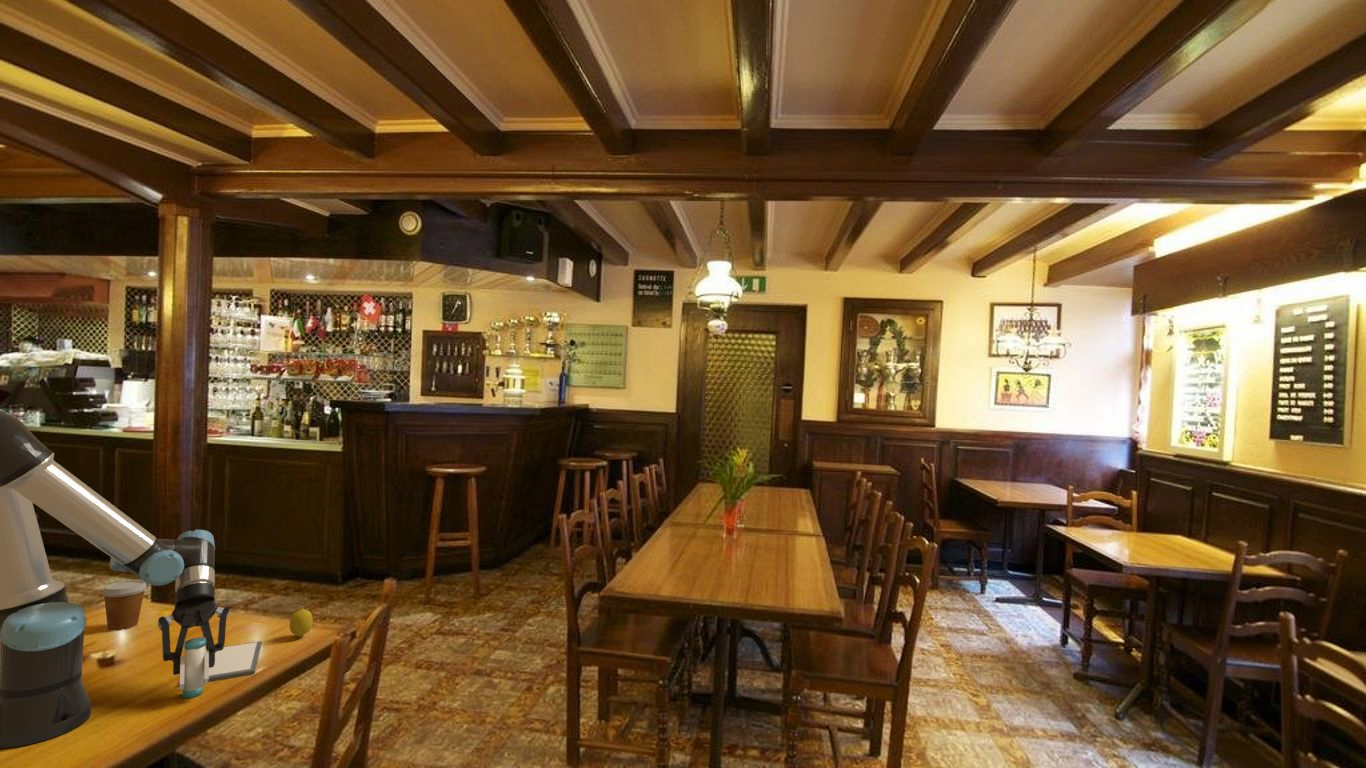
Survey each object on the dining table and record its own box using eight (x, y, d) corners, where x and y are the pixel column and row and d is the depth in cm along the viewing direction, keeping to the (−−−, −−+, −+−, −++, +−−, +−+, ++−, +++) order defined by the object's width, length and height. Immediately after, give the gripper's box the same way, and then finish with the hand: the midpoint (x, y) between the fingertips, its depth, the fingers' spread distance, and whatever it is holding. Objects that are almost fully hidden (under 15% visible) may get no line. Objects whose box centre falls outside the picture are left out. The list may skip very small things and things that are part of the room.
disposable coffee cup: (150, 625, 175) (152, 583, 175) (105, 635, 167) (108, 592, 167) (138, 618, 180) (140, 577, 180) (94, 627, 172) (97, 585, 172)
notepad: (181, 686, 140) (181, 681, 140) (196, 653, 157) (196, 649, 157) (254, 673, 147) (254, 669, 147) (261, 644, 165) (261, 640, 165)
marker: (179, 699, 134) (183, 645, 134) (183, 692, 137) (186, 639, 138) (201, 696, 136) (204, 642, 136) (204, 688, 139) (207, 636, 140)
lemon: (314, 637, 170) (316, 608, 170) (292, 642, 166) (293, 613, 166) (308, 631, 174) (310, 603, 174) (286, 636, 170) (287, 608, 170)
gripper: (235, 591, 154) (238, 681, 141) (149, 604, 143) (143, 702, 130) (239, 575, 150) (242, 666, 137) (150, 587, 139) (144, 687, 126)
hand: (194, 684), depth 134 cm, fingers closed on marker, 3 cm apart
